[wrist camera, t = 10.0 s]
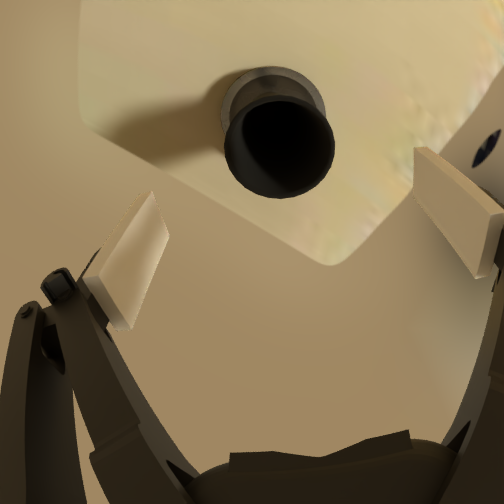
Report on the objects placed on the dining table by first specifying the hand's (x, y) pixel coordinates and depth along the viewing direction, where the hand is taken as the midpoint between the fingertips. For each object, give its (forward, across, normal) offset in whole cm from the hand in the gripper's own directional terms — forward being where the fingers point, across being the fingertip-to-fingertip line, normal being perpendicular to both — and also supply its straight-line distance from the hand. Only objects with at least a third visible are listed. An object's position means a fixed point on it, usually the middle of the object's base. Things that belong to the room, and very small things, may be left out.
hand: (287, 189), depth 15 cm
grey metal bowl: (+22, 0, 0) cm, 22 cm away
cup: (+20, 0, 0) cm, 20 cm away
